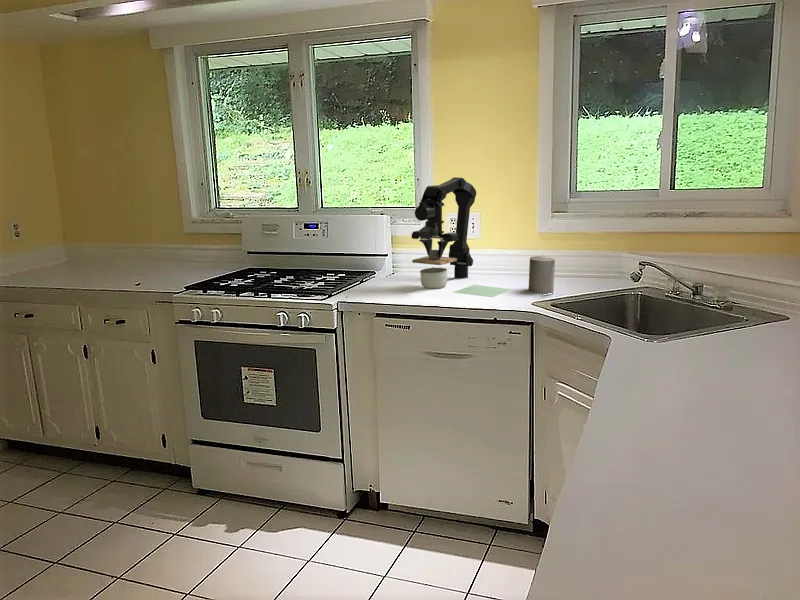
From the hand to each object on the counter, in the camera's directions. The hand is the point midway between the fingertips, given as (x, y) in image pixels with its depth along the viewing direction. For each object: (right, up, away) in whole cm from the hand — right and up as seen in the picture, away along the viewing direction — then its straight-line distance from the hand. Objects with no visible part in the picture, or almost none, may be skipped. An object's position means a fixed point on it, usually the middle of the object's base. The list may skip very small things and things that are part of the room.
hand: (434, 257), depth 275 cm
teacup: (0, -12, +3) cm, 13 cm away
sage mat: (+18, -14, -7) cm, 24 cm away
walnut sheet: (0, -2, 0) cm, 2 cm away
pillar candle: (+41, -14, -8) cm, 44 cm away
